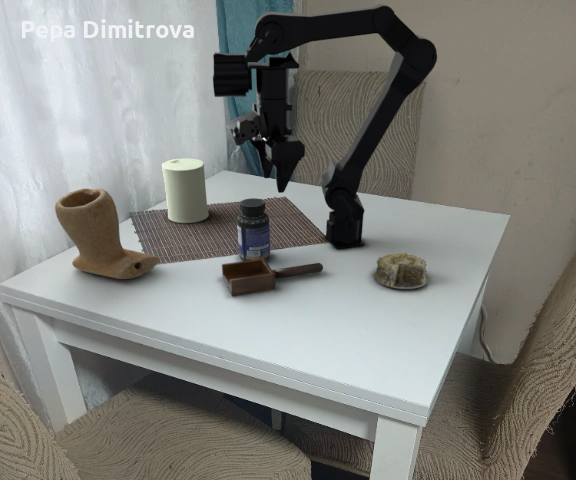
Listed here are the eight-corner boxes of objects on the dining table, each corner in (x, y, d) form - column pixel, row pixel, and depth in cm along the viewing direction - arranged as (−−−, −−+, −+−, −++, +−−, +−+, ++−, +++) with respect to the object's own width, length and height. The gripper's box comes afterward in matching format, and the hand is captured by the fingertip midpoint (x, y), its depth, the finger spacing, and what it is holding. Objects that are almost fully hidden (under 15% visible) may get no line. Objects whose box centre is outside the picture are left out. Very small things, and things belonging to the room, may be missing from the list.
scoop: (315, 265, 110) (316, 250, 108) (329, 281, 104) (330, 265, 103) (222, 279, 105) (221, 264, 103) (232, 296, 100) (231, 280, 98)
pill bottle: (276, 255, 113) (275, 200, 107) (258, 267, 109) (256, 210, 103) (250, 248, 116) (248, 194, 109) (232, 259, 112) (229, 204, 105)
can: (187, 206, 136) (182, 153, 128) (217, 214, 131) (212, 160, 124) (159, 217, 130) (151, 163, 122) (189, 226, 125) (183, 170, 118)
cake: (362, 275, 107) (364, 247, 105) (408, 267, 111) (410, 240, 108) (391, 294, 100) (393, 265, 97) (439, 285, 103) (442, 256, 100)
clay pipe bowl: (57, 275, 106) (36, 194, 97) (102, 252, 115) (87, 176, 106) (118, 294, 100) (102, 210, 91) (162, 268, 109) (151, 189, 100)
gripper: (216, 89, 106) (221, 175, 116) (242, 110, 92) (246, 205, 102) (273, 86, 109) (274, 169, 119) (306, 105, 95) (305, 198, 105)
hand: (273, 185), depth 111 cm, fingers open, 9 cm apart
